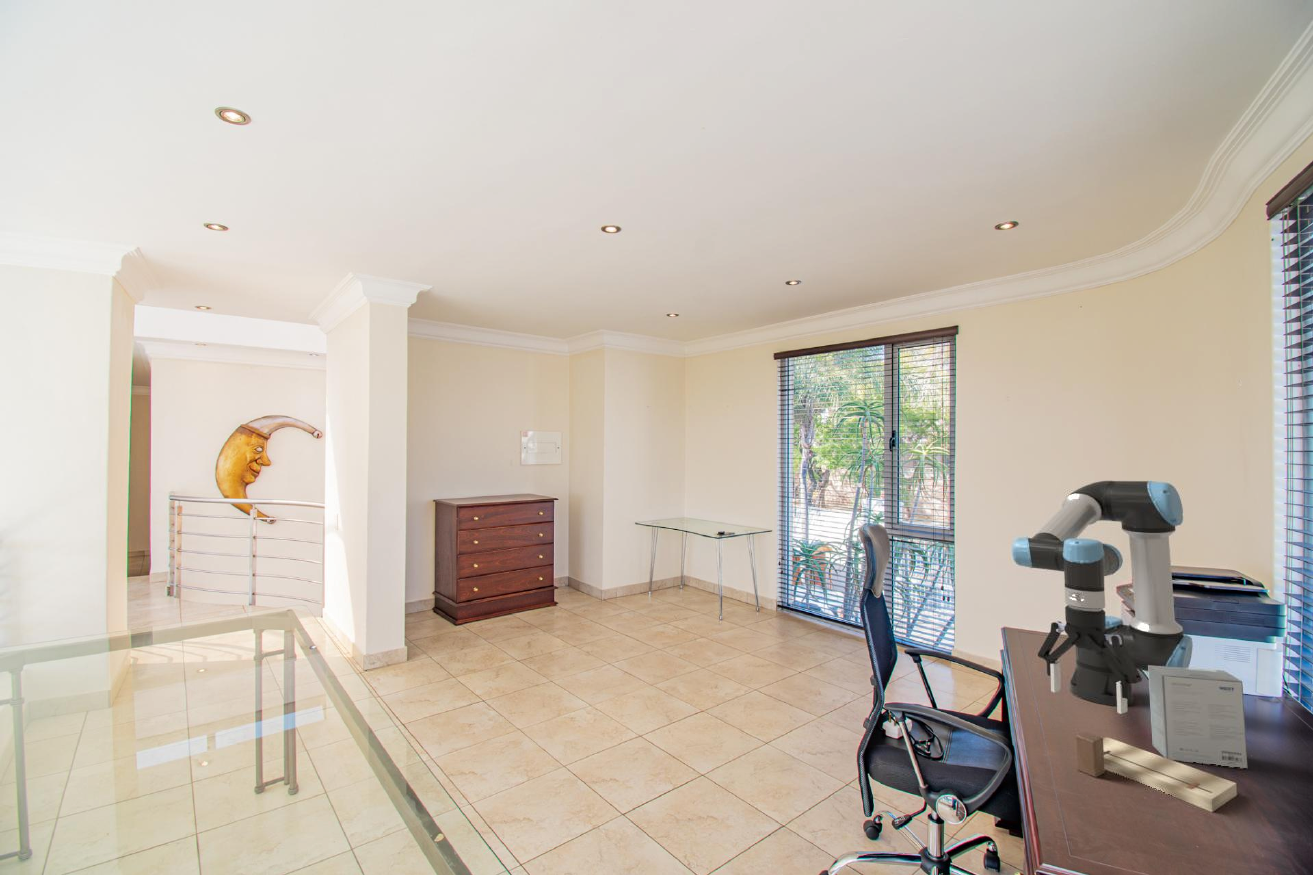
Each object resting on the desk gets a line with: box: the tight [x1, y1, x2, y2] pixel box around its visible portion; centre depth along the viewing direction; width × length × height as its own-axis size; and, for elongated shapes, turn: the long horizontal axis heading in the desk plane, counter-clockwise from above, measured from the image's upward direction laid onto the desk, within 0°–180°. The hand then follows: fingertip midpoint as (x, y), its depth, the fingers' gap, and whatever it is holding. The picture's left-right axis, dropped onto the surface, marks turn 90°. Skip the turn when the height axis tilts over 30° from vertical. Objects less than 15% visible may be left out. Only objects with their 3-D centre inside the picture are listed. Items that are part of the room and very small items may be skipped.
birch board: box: [1102, 736, 1238, 813], centre depth 133 cm, size 24×12×3 cm, turn 28°
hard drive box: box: [1147, 665, 1248, 769], centre depth 142 cm, size 16×8×20 cm, turn 71°
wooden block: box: [1075, 731, 1105, 778], centre depth 136 cm, size 4×4×8 cm
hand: (1087, 701), depth 136 cm, fingers open, 13 cm apart
